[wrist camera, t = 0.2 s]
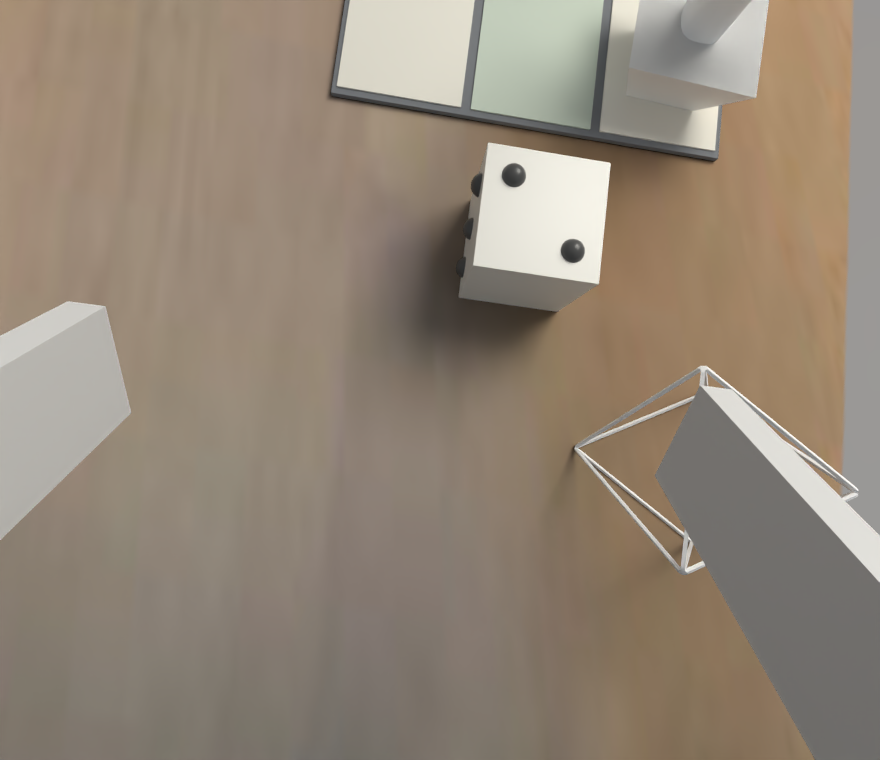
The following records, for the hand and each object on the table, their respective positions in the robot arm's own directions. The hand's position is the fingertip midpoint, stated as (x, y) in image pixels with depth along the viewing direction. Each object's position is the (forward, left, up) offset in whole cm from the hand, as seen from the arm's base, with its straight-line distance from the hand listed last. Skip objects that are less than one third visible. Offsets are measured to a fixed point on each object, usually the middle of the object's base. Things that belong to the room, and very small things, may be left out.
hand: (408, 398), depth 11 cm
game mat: (+23, -5, -16) cm, 28 cm away
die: (+10, -5, -16) cm, 20 cm away
